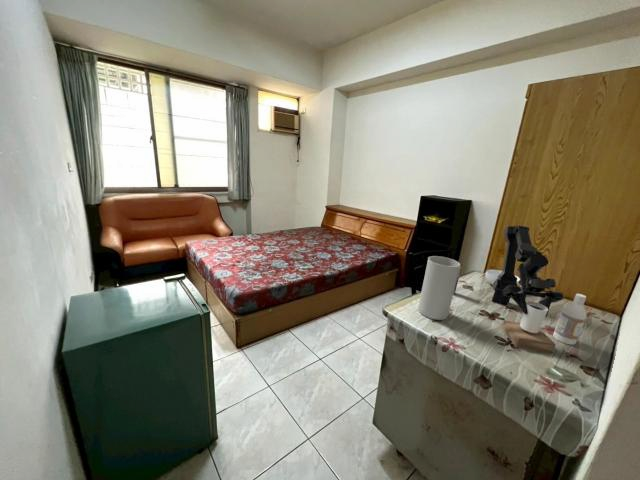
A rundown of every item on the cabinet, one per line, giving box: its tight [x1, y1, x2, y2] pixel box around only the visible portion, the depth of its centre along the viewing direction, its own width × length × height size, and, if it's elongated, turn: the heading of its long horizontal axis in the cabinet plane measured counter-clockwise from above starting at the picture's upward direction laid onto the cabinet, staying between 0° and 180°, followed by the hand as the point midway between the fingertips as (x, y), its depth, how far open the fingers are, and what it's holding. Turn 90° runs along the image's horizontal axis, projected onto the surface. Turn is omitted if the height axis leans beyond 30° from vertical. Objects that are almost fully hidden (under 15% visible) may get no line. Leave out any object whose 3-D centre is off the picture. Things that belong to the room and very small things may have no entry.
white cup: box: [519, 301, 549, 333], centre depth 100 cm, size 7×7×10 cm
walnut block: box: [501, 320, 556, 354], centre depth 102 cm, size 12×12×4 cm
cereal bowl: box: [485, 269, 520, 286], centre depth 152 cm, size 17×17×7 cm
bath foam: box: [552, 293, 587, 346], centre depth 103 cm, size 7×7×20 cm
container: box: [453, 266, 462, 296], centre depth 138 cm, size 5×5×15 cm
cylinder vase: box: [417, 255, 461, 321], centre depth 115 cm, size 12×12×25 cm
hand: (536, 315), depth 99 cm, fingers closed on white cup, 6 cm apart
